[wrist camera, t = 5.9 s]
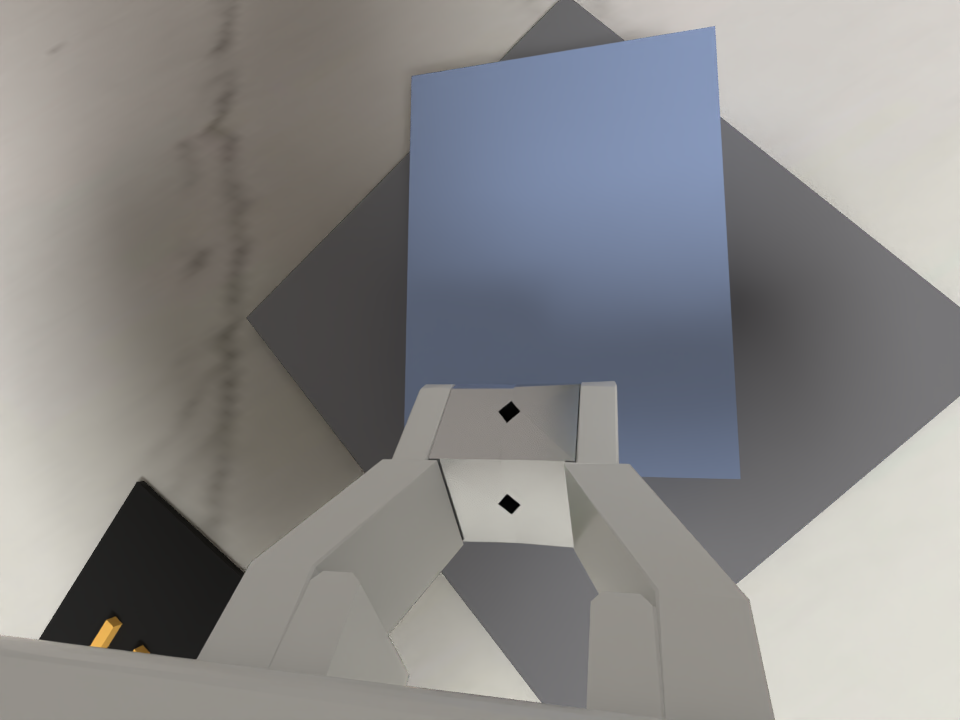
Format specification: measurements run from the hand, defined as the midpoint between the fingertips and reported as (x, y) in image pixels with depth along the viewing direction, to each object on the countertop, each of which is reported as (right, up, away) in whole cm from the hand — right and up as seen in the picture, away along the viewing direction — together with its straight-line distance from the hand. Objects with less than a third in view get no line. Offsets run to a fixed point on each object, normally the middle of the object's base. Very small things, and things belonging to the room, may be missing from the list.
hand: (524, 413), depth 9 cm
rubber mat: (+2, +2, +8) cm, 8 cm away
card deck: (+2, -2, +6) cm, 6 cm away
